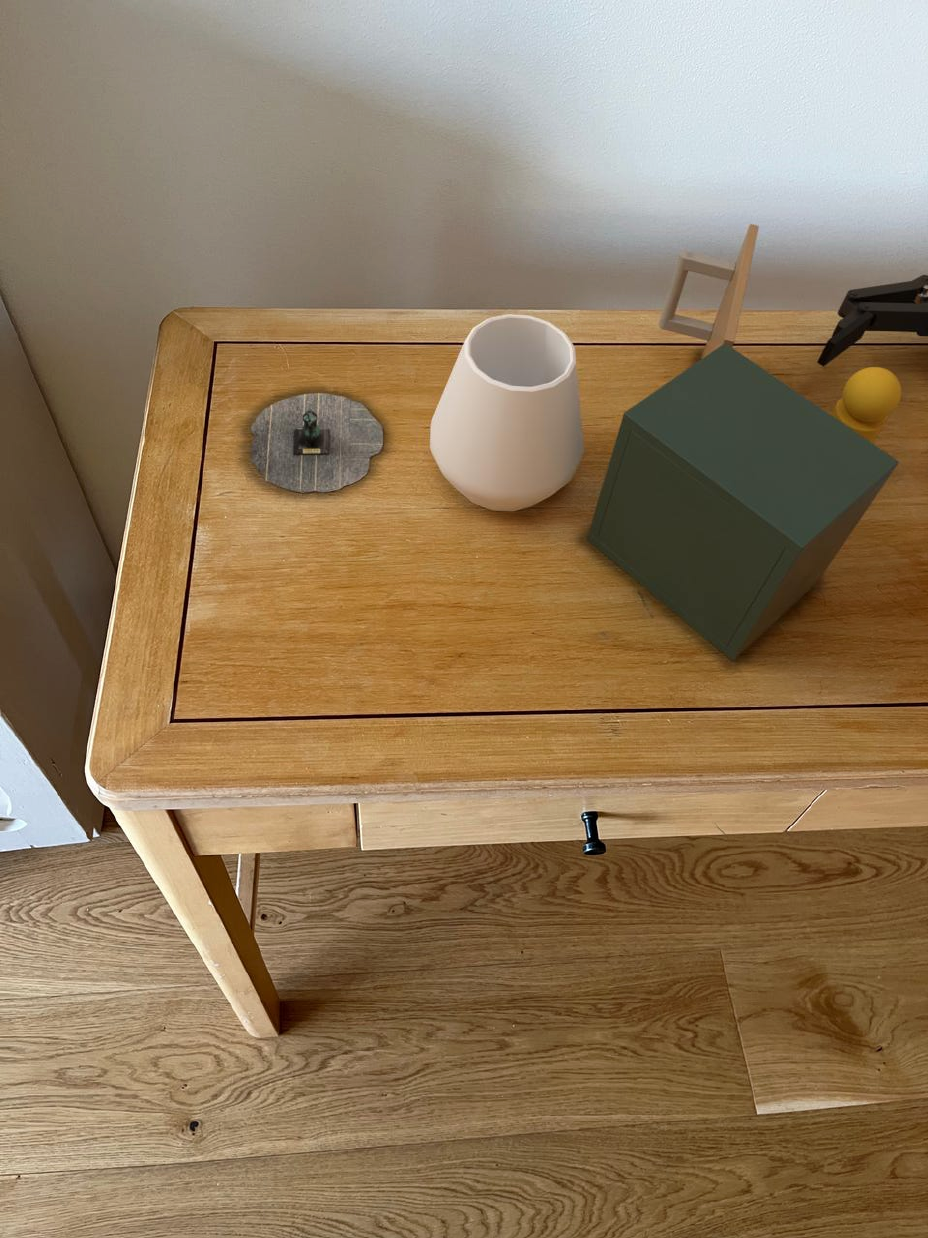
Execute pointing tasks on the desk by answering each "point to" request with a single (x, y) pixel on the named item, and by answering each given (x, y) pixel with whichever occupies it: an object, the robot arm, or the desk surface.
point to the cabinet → (732, 496)
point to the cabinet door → (731, 301)
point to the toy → (868, 401)
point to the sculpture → (315, 442)
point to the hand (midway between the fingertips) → (887, 394)
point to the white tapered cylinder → (510, 414)
